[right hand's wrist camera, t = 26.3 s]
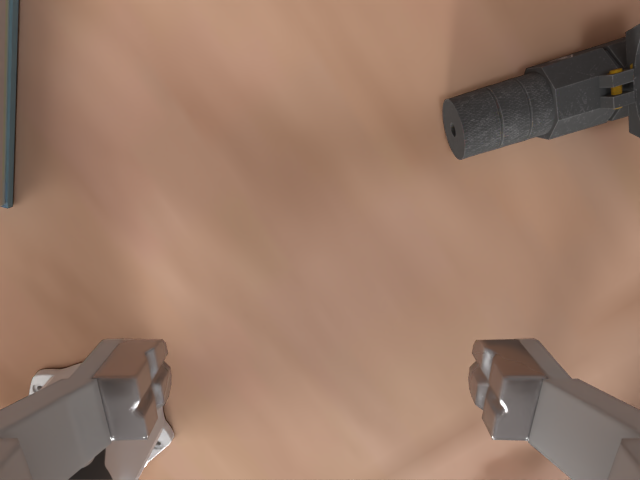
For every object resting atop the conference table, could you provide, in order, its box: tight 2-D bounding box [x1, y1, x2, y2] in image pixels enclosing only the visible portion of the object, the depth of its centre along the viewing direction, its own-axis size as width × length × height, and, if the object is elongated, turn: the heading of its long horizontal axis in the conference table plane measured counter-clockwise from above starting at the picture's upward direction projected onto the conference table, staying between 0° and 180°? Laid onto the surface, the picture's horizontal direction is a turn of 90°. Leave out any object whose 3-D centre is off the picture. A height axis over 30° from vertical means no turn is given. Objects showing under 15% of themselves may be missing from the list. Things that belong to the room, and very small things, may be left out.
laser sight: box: [443, 24, 640, 160], centre depth 34 cm, size 10×22×10 cm, turn 107°
